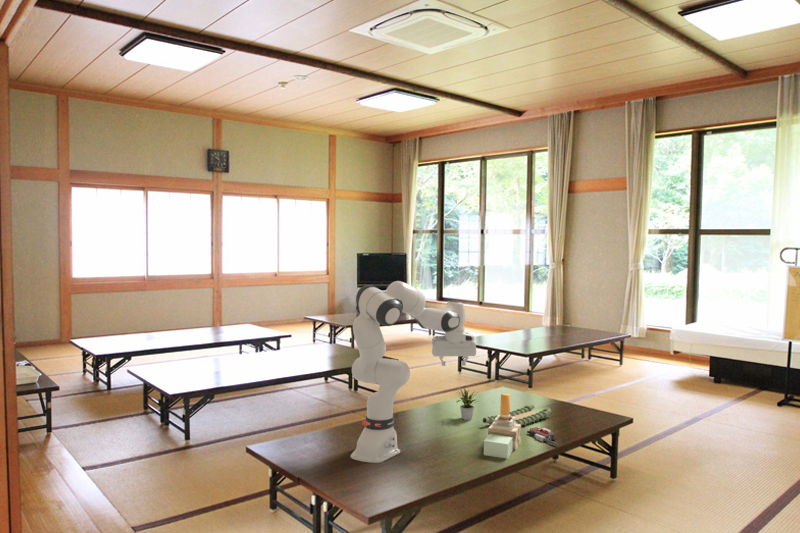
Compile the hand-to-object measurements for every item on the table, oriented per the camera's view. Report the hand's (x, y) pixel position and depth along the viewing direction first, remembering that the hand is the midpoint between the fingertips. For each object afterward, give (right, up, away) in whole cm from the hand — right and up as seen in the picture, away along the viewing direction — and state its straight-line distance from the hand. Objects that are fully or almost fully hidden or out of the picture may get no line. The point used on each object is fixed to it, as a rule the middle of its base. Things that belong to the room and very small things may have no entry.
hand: (453, 365), depth 258 cm
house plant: (+8, -32, +28) cm, 44 cm away
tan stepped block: (+22, -33, -10) cm, 41 cm away
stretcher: (+35, -33, +24) cm, 53 cm away
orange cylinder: (+22, -24, -10) cm, 34 cm away
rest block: (+17, -33, -21) cm, 43 cm away
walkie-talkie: (+42, -34, -2) cm, 54 cm away
